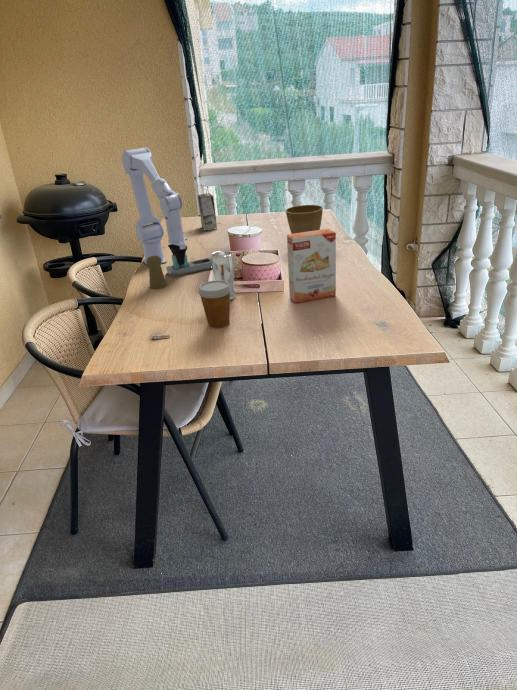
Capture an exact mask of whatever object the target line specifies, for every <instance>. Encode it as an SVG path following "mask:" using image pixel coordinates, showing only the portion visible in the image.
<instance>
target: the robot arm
mask: <svg viewBox="0 0 517 690" xmlns="http://www.w3.org/2000/svg"><path fill="white" fill-rule="evenodd" d="M121 161H122V166H123V169H124V172H125V173H124V174H126V175H128V176H129V180H130V184H131V188H132V191H133V195H134V198H135V202H136V207H137V210H138V214H139V219H138V220H137V221H136V223H135V225H134V226H135V233H136V237H137V239H138V241H140V242H141V243H142V251H143V256H144V259H142V261H143V262H144V263H145V264H146V265H147V262H146V261H147V258H148V257H150V256H159V257H160V258H161V261H162V262H161V264H165V263H168V260H167V259H165V257H164V253H163V252H164V251H163V246H162V240H163V237H164V234H165V229H164V227H163V225H162V222H161V220H160V218H158V217H156V216H155V215H154V214H153V211H152V210H153V209H152V207H151V203H150V198H149V195H148V191H147V187H146V184H145V183H146V182H145V179H144V175H145V176H146V177H147V179H148V181H150V183H151V190H152V191H153V192H154V194H155V195H156V197H157V198H158V200H159V207H160V209H161V211H162V215H163V217H164V219H165V220H164V221H165V224H166V231H167V237H168V245H167V247H168V248H169V250H170V251H171V253H172V255H175V256H176V259H177V262H178V264H179V265H183V264H184V262H185V253H186V254H187V250H188V246H187V245H186V241H188V237H185V235H184V230H183V222H182V215H181V209H182V207H183V201H182V198H181V195H180V194H179V193H177V192H176V191H173V190H172V188H171V186H170V185H169V184H168V182H167V181H166V179H165V178H161V176H160V174H159V173H158V172H157V169H156V167H155V165H154V164H153V154H152V152H151V150H150V149H149V148H148V147H147V146H145V147H140V148H134V149H133V148H132V149H127V150H126V149H125V150H123V151H122V154H121ZM143 174H144V175H143Z"/></svg>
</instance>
